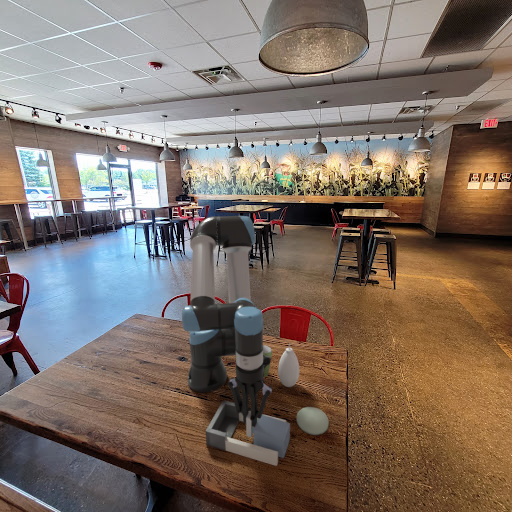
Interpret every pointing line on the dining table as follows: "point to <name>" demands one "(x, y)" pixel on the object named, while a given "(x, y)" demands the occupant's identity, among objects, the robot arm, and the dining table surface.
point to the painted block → (272, 434)
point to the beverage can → (266, 359)
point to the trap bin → (222, 425)
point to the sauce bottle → (288, 368)
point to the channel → (252, 448)
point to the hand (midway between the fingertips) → (250, 433)
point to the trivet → (312, 420)
